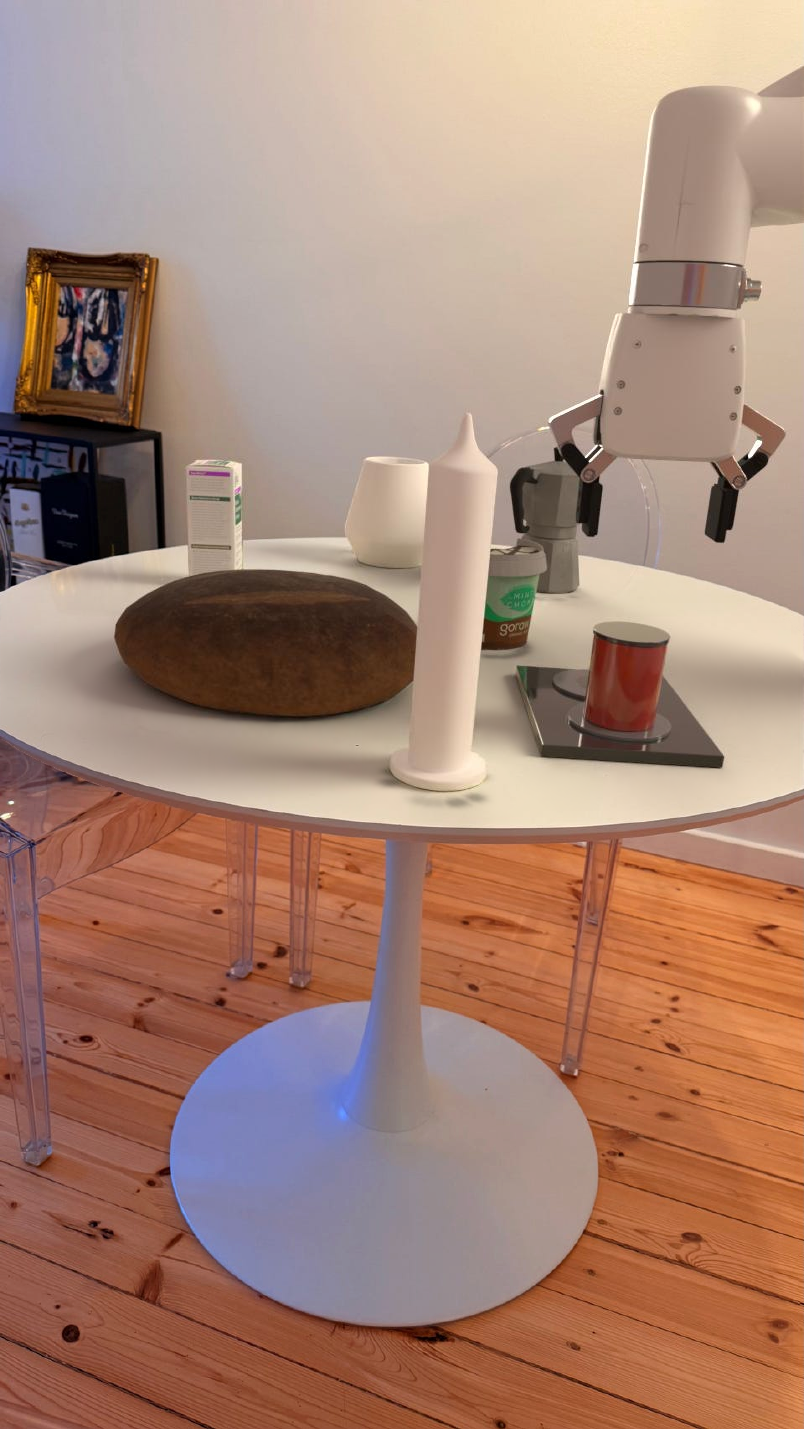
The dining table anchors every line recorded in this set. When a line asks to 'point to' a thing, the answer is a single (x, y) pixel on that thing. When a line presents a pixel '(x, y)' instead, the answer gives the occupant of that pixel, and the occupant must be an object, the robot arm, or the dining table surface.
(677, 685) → the dining table surface
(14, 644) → the dining table surface
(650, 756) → the hob
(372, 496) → the white vase
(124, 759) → the dining table surface
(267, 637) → the bread
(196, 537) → the syrup box
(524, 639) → the food container
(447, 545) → the candle
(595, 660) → the red canister
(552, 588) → the coffeepot
